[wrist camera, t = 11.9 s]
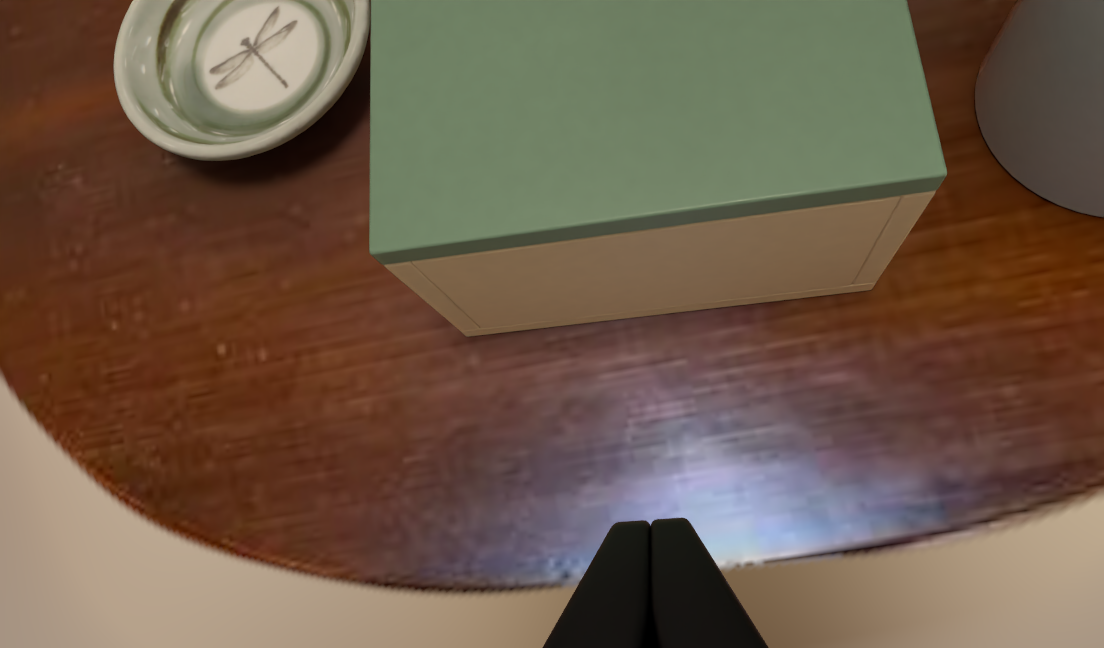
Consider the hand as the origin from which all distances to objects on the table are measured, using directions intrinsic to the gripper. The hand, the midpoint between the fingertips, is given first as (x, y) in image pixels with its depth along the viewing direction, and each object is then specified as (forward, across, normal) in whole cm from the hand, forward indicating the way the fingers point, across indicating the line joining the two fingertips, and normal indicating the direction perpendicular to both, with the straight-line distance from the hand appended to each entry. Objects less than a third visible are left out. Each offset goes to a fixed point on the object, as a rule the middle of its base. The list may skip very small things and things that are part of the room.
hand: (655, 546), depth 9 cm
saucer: (+22, +14, -3) cm, 26 cm away
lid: (+13, 0, -3) cm, 14 cm away
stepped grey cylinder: (+18, -14, +1) cm, 23 cm away
